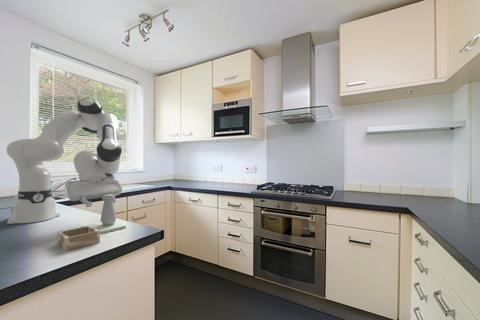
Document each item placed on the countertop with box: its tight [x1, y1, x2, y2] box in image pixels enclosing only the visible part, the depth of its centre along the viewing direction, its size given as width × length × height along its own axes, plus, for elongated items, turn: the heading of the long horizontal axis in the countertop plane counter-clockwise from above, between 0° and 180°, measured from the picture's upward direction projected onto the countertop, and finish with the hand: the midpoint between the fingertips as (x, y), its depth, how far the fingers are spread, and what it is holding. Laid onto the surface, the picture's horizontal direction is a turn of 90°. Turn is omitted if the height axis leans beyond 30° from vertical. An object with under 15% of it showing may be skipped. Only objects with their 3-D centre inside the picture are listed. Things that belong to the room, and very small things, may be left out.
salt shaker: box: [100, 194, 117, 226], centre depth 94 cm, size 6×6×13 cm
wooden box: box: [57, 226, 101, 252], centre depth 76 cm, size 10×10×4 cm
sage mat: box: [80, 220, 127, 235], centre depth 92 cm, size 14×12×1 cm
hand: (102, 204), depth 93 cm, fingers open, 8 cm apart
